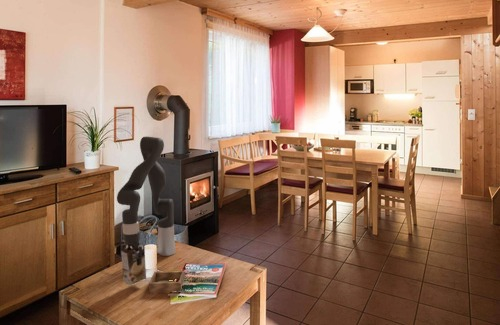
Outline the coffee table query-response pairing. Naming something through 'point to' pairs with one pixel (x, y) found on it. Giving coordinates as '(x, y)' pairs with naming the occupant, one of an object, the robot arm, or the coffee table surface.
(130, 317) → the coffee table surface
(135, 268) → the coffee box
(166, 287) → the walnut box
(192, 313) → the coffee table surface
